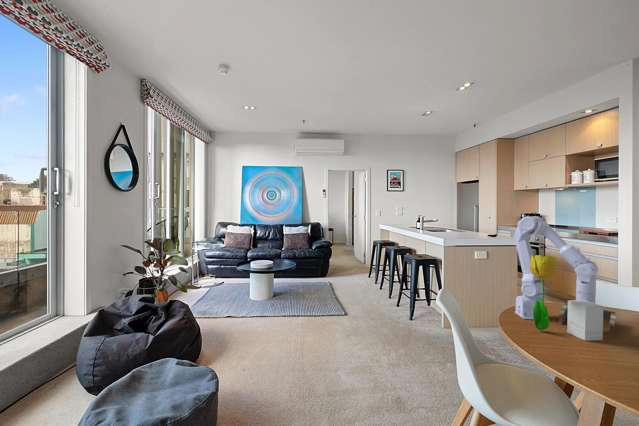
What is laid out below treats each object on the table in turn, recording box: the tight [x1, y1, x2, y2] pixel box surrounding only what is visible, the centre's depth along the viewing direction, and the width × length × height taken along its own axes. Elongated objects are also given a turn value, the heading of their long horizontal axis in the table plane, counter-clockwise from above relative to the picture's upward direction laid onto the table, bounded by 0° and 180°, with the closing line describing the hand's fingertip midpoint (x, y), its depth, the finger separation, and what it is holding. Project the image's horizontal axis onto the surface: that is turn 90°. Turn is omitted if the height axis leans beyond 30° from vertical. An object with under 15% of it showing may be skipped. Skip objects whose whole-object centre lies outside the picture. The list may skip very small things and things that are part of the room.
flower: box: [530, 254, 557, 332], centre depth 115 cm, size 9×8×30 cm
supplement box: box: [566, 299, 604, 342], centre depth 111 cm, size 7×7×13 cm
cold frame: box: [558, 302, 617, 337], centre depth 123 cm, size 17×16×5 cm
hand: (584, 326), depth 117 cm, fingers closed
